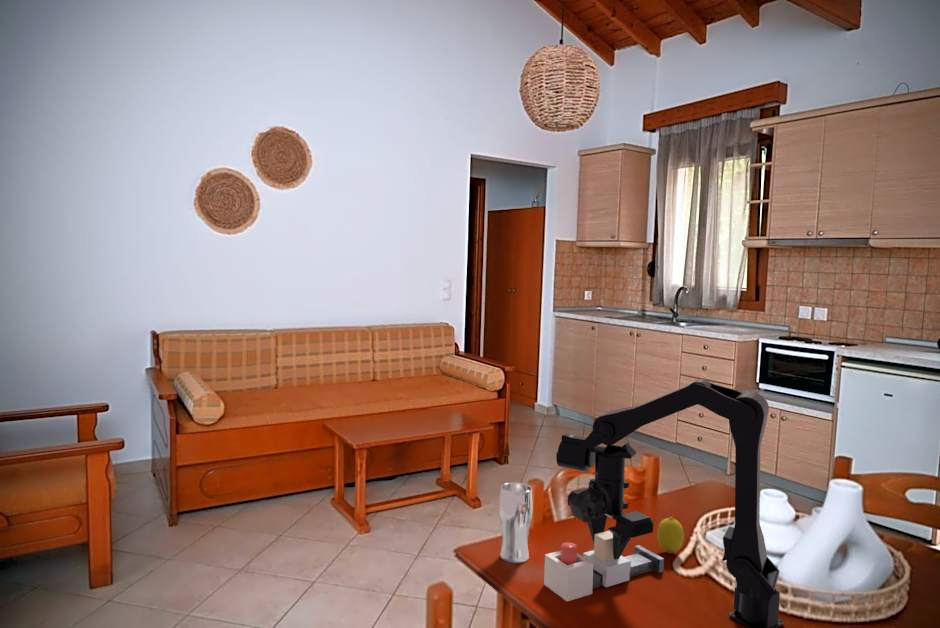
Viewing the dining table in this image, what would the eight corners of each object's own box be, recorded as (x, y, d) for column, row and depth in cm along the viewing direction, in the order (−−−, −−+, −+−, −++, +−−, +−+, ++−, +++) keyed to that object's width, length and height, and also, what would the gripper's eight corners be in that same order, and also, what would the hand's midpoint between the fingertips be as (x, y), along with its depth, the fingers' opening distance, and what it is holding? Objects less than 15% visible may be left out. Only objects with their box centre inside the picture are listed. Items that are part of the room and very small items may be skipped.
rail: (663, 571, 126) (663, 558, 126) (598, 592, 117) (598, 577, 117) (638, 557, 132) (638, 545, 132) (574, 575, 123) (575, 562, 123)
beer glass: (492, 559, 130) (494, 489, 129) (506, 546, 136) (508, 479, 135) (523, 567, 126) (525, 495, 125) (536, 554, 133) (538, 485, 132)
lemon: (684, 560, 131) (686, 523, 131) (657, 557, 132) (659, 520, 132) (681, 549, 136) (682, 513, 136) (655, 546, 138) (656, 511, 137)
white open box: (592, 593, 116) (593, 562, 116) (567, 601, 114) (568, 569, 113) (568, 577, 123) (569, 548, 122) (544, 584, 120) (545, 554, 119)
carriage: (629, 580, 121) (631, 539, 121) (606, 587, 118) (608, 545, 118) (605, 565, 127) (606, 525, 127) (582, 572, 124) (584, 531, 124)
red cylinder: (579, 573, 117) (580, 547, 117) (567, 576, 116) (568, 550, 115) (569, 566, 120) (570, 541, 120) (557, 569, 118) (558, 544, 118)
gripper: (547, 468, 125) (545, 543, 127) (611, 498, 109) (608, 583, 110) (590, 460, 131) (587, 532, 132) (656, 488, 115) (653, 570, 116)
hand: (606, 553), depth 122 cm, fingers open, 5 cm apart
